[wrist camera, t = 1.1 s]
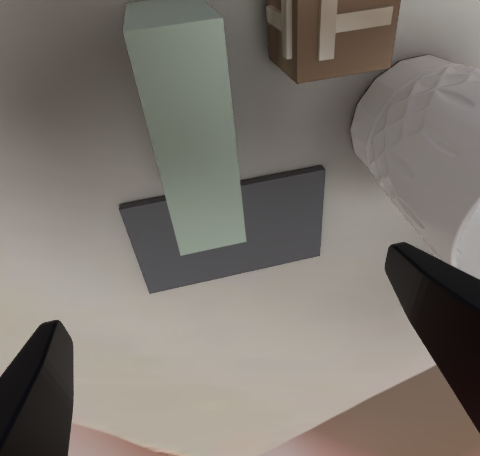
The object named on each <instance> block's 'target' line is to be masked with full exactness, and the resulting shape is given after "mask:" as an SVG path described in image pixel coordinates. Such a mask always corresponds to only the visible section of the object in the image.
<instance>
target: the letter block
mask: <svg viewBox="0 0 480 456" xmlns="http://www.w3.org/2000/svg"><path fill="white" fill-rule="evenodd" d="M400 2H401V0H267V6H266V14H267V22H268V35H269V58H270V59H271V60H272V61H273V62H274V63H275V64H276V65H277V66H278V67H279V68H281V69H282V70H283V71H284V72H285V73H286V74H287V75H288V76H289V77H290V78H291V79H292V80H293V81H295V82H296V83H297V84H299V83H305V82H311V81H317V80H323V79H329V78H335V77H341V76H347V75H353V74H359V73H364V72H370V71H376V70H382V69H388V68H390V66H391V60H392V53H393V47H394V41H395V34H396V28H397V22H398V15H399V9H400Z"/></svg>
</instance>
